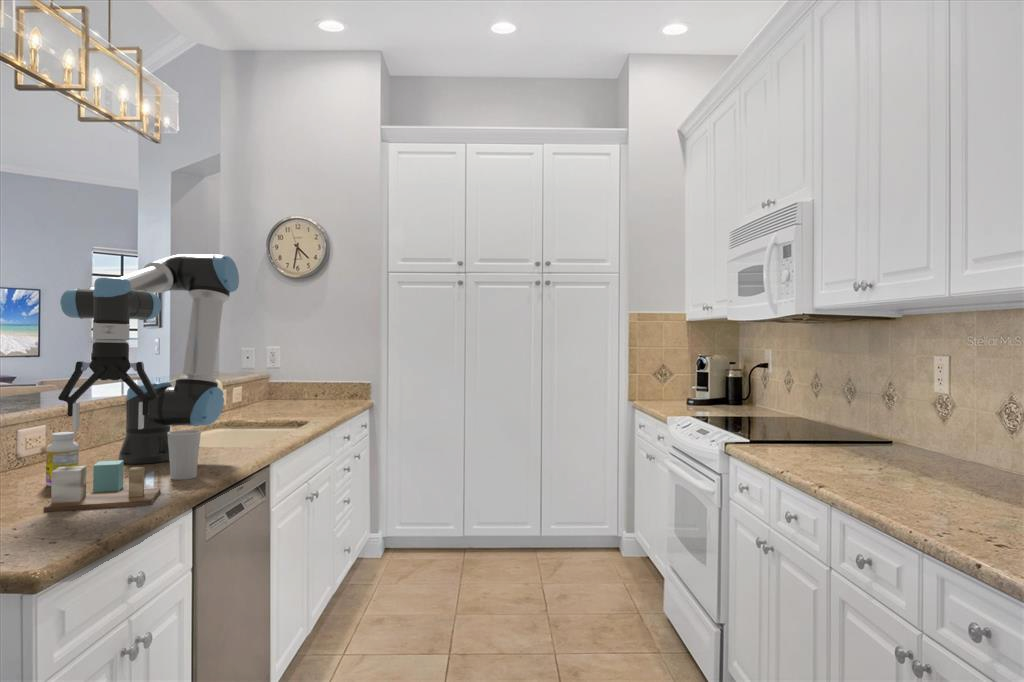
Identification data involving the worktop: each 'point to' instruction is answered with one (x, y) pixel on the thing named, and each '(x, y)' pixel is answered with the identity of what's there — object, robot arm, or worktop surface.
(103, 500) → the peg board
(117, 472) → the turquoise rounded cube
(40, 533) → the worktop surface
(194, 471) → the cup
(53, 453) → the supplement bottle
